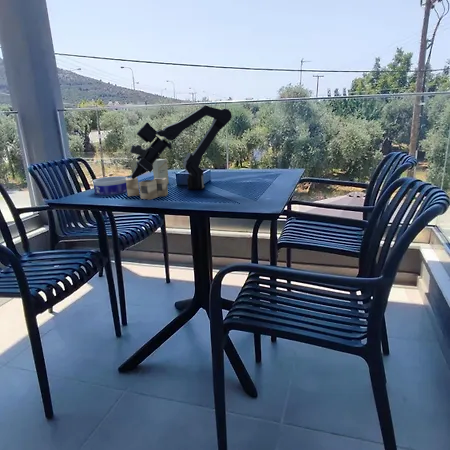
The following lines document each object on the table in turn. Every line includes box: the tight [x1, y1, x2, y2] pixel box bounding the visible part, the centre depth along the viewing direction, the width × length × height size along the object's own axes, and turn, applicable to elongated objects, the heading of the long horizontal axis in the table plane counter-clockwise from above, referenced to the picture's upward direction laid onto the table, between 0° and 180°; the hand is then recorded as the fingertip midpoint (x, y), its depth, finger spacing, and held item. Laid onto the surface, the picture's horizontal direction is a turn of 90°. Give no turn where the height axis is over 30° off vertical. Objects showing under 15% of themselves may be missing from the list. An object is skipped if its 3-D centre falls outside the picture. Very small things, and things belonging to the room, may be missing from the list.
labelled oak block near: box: [138, 179, 159, 201], centre depth 148 cm, size 5×5×7 cm
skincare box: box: [152, 158, 170, 185], centre depth 176 cm, size 6×4×12 cm
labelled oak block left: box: [152, 178, 169, 197], centre depth 152 cm, size 5×5×7 cm
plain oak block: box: [126, 177, 140, 197], centre depth 155 cm, size 5×5×7 cm
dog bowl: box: [92, 175, 128, 196], centre depth 165 cm, size 15×15×6 cm
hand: (131, 178), depth 154 cm, fingers closed
